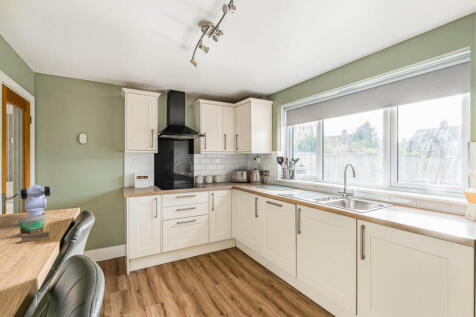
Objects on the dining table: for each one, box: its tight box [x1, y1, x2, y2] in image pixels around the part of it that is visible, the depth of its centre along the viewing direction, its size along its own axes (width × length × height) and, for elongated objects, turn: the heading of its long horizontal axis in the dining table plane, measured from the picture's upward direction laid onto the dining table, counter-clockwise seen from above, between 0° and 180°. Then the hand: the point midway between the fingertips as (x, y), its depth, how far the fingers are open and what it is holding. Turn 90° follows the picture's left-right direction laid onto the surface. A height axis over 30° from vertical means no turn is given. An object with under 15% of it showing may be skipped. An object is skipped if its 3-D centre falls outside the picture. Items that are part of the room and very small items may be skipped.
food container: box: [17, 212, 47, 237], centre depth 118 cm, size 12×6×10 cm, turn 168°
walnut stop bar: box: [20, 230, 50, 244], centre depth 110 cm, size 3×10×3 cm, turn 132°
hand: (36, 193), depth 121 cm, fingers open, 7 cm apart
